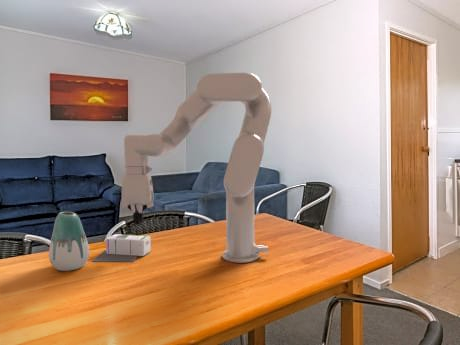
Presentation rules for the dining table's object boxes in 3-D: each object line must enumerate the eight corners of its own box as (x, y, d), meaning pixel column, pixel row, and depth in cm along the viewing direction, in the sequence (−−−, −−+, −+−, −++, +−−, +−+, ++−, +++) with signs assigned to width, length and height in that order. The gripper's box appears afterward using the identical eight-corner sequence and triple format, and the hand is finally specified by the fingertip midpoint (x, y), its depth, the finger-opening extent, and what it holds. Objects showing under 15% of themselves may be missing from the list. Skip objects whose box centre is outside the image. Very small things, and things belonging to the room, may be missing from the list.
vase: (97, 262, 112) (95, 209, 110) (70, 276, 101) (67, 217, 99) (70, 259, 115) (67, 207, 113) (41, 271, 104) (37, 215, 103)
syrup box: (143, 240, 115) (105, 237, 119) (143, 257, 116) (105, 253, 119) (150, 235, 121) (114, 233, 124) (151, 251, 122) (114, 248, 125)
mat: (142, 250, 123) (142, 249, 123) (134, 261, 112) (133, 260, 112) (104, 250, 123) (104, 249, 123) (92, 261, 113) (92, 260, 112)
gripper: (160, 170, 119) (162, 221, 121) (118, 170, 119) (120, 221, 121) (156, 172, 111) (157, 226, 113) (110, 172, 112) (113, 226, 114)
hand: (138, 223), depth 117 cm, fingers closed
